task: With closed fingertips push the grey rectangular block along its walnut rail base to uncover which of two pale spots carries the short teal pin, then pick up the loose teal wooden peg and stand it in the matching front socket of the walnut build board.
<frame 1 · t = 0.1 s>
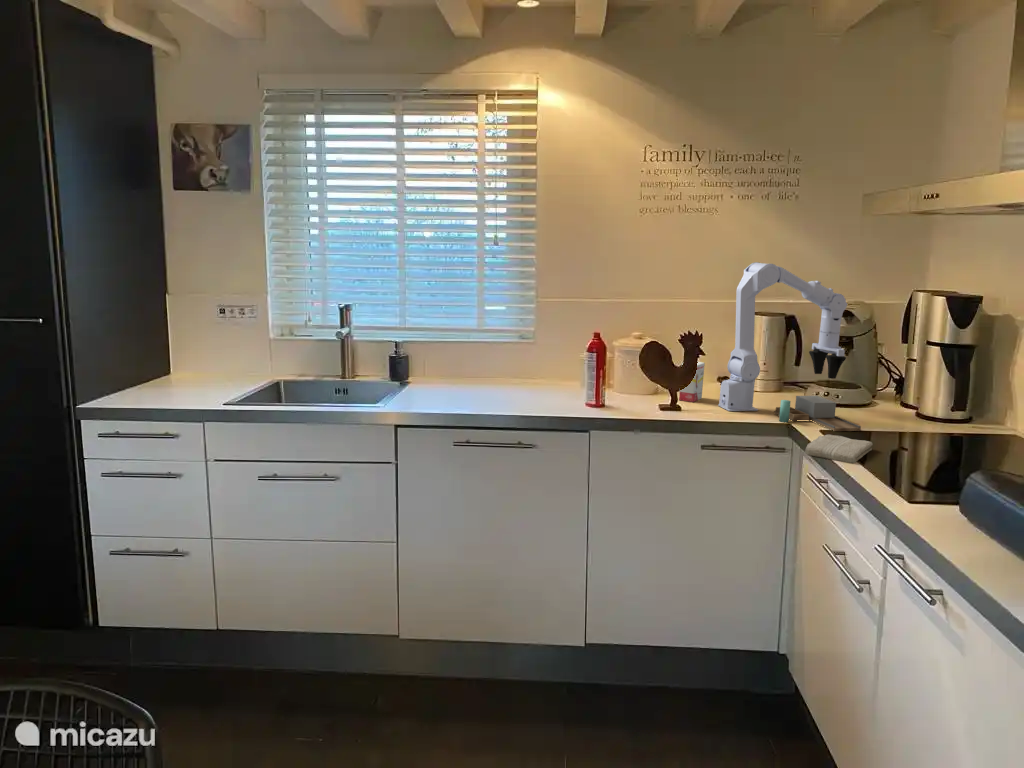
hand: (824, 376, 251), 10 cm above the countertop, fingers open, 7 cm apart
build board: (791, 417, 237), on the countertop
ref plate: (824, 421, 234), on the countertop
ink box: (690, 400, 259), on the countertop
peg: (783, 421, 232), on the countertop
washcloth: (839, 454, 201), on the countertop
grey rectangular block: (815, 406, 238), point 3 cm above the countertop, slide at 0.0 cm
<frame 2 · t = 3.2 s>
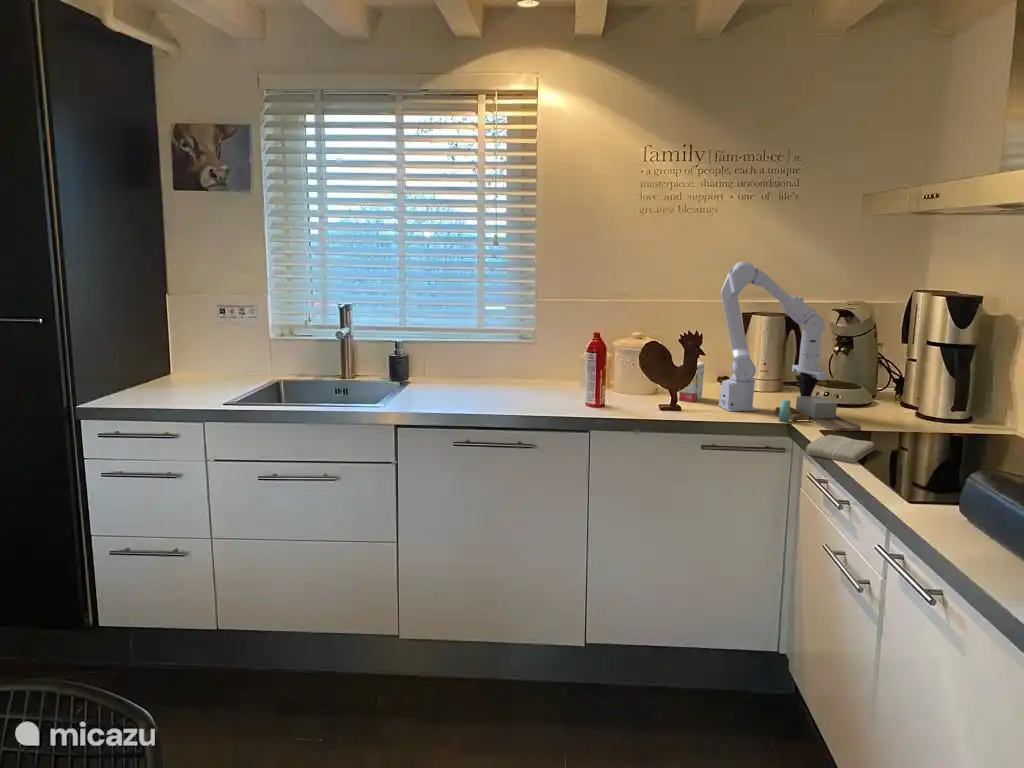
hand: (805, 399, 243), 4 cm above the countertop, fingers closed
grey rectangular block: (815, 406, 238), point 3 cm above the countertop, slide at 0.5 cm, touching gripper
everything else where it was.
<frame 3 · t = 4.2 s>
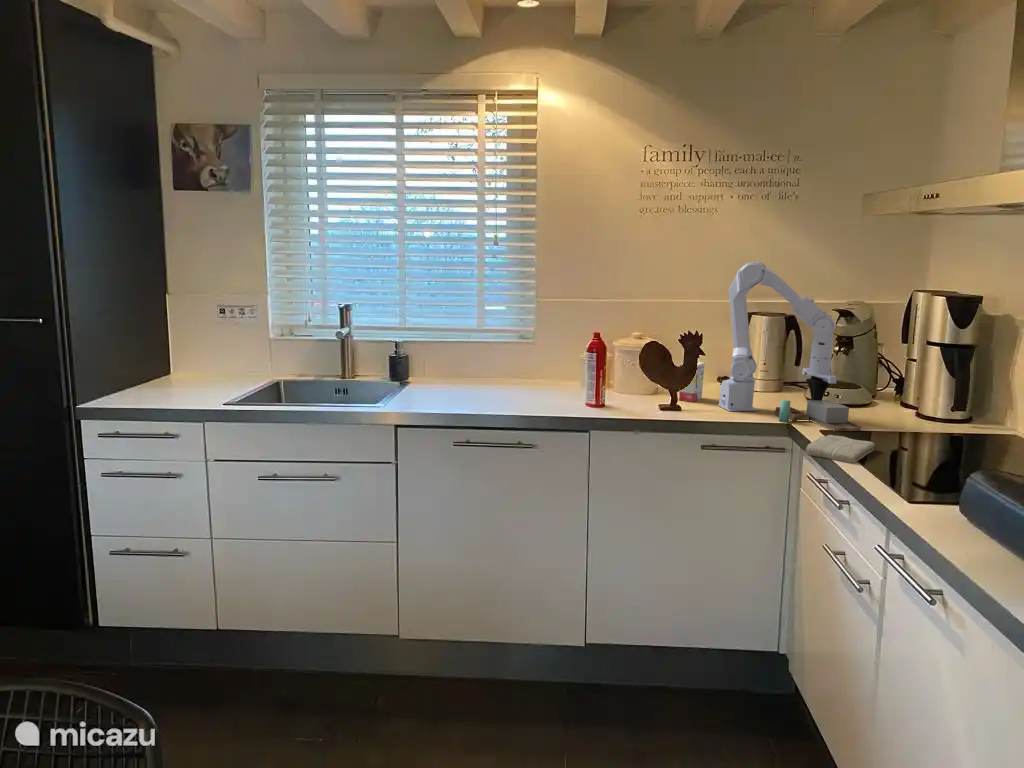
hand: (816, 403, 238), 4 cm above the countertop, fingers closed
grey rectangular block: (827, 411, 232), point 3 cm above the countertop, slide at 6.3 cm, touching gripper
everything else where it was.
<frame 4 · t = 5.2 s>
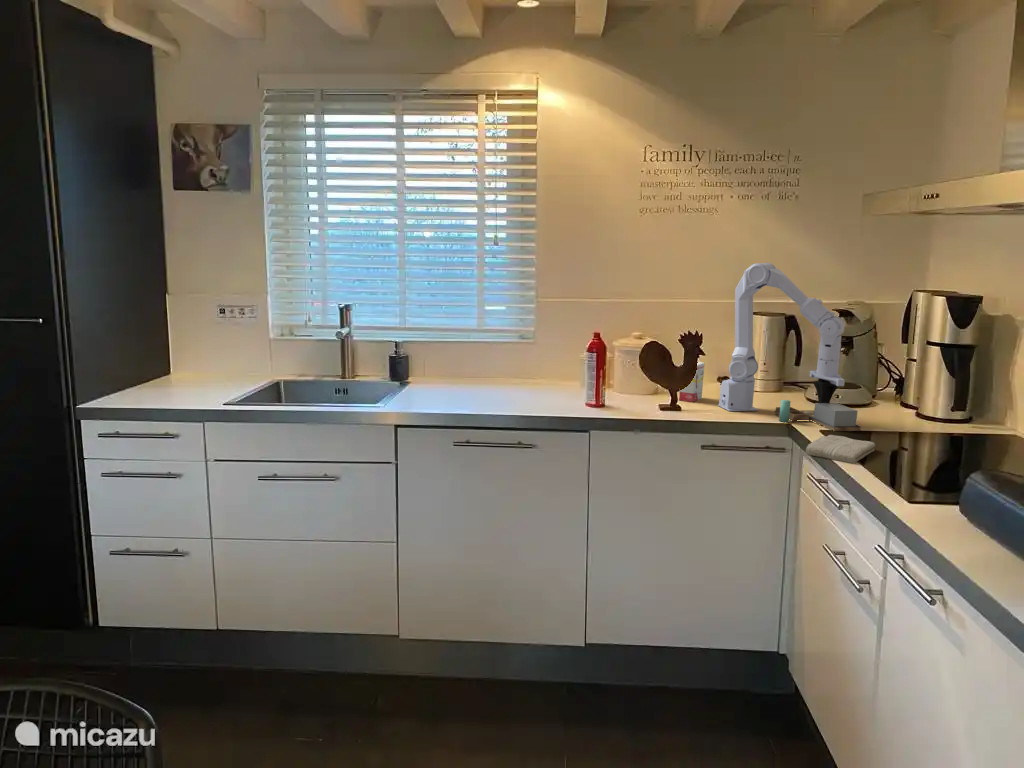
hand: (823, 406, 234), 4 cm above the countertop, fingers closed
grey rectangular block: (835, 414, 228), point 3 cm above the countertop, slide at 10.2 cm, touching gripper
everything else where it was.
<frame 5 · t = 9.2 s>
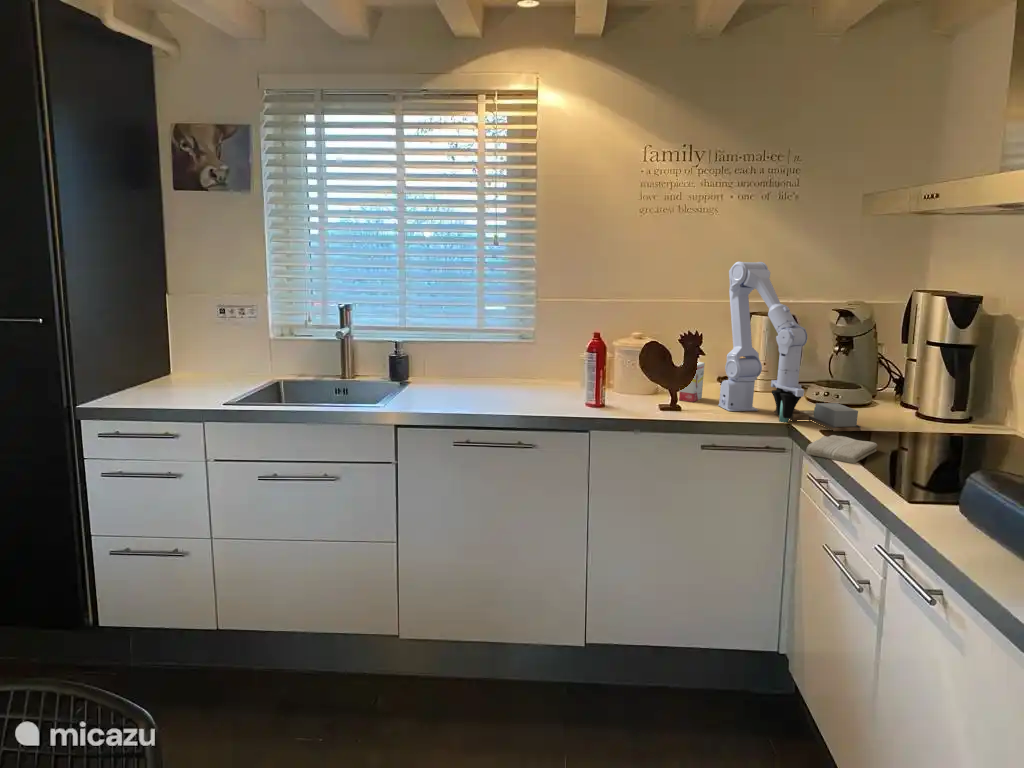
hand: (784, 416, 232), 1 cm above the countertop, fingers closed on peg, 3 cm apart
peg: (783, 421, 232), on the countertop, touching gripper
grey rectangular block: (835, 414, 228), point 3 cm above the countertop, slide at 10.5 cm
everything else where it was.
when the fingers open (3 cm above the countertop, at t = 11.5 s): peg stays where it is, resting on build board.
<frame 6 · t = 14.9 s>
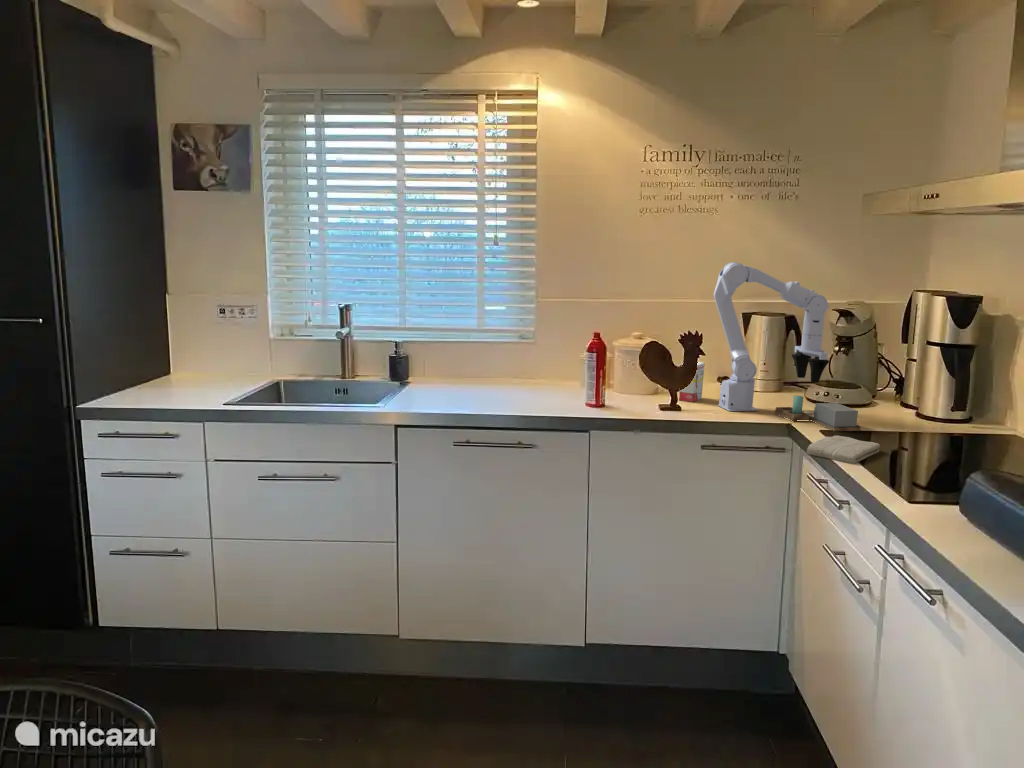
hand: (807, 379, 243), 10 cm above the countertop, fingers open, 7 cm apart
peg: (796, 416, 235), point 1 cm above the countertop, touching build board
at the end: grey rectangular block slide at 10.5 cm; peg 0.0 cm from the target spot on the build board, point 0.8 cm above the build board's base; peg tilted 1° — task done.
